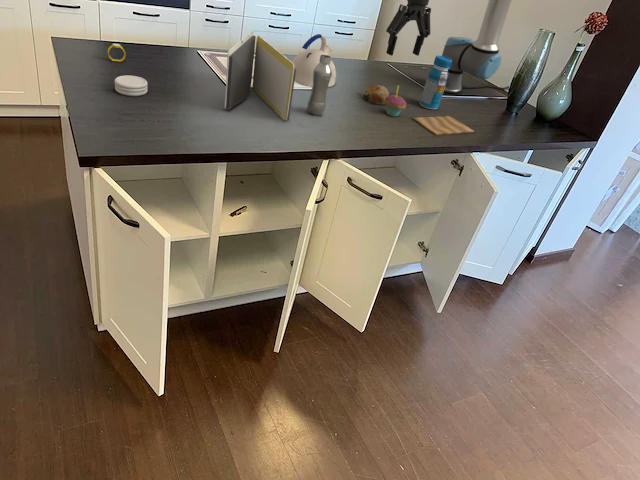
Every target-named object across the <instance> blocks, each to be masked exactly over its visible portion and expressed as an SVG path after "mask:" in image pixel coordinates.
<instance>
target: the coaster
mask: <svg viewBox="0 0 640 480" xmlns="http://www.w3.org/2000/svg"><path fill="white" fill-rule="evenodd" d="M148 84H149V83H148V81H147V80H146V79H145V78H143V77H140V76H137V75H119V76H117V77H116V78H115V79H114V89H115V91H116V92H117V93H118V94H120V95H122V96H128V97H141V96H144V95H146V94H147V93H148V91H149V89H148V87H149V86H148Z"/></svg>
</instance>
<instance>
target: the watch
mask: <svg viewBox="0 0 640 480" xmlns="http://www.w3.org/2000/svg"><path fill="white" fill-rule="evenodd" d="M112 48H117V49H120V50H122V52H123V56H122V58H120V59H115V58H113V57H112V56H111V55H110V51H111V50H112ZM107 56H108V58H109V60H111V61H112V62H118V63H122V62H123V61H124V60H125V59H126V56H127V55H126V51H125V49H124V48H123V46H122V45H121V44H120V43H112V44H111V45H109V47H108V48H107Z"/></svg>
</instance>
